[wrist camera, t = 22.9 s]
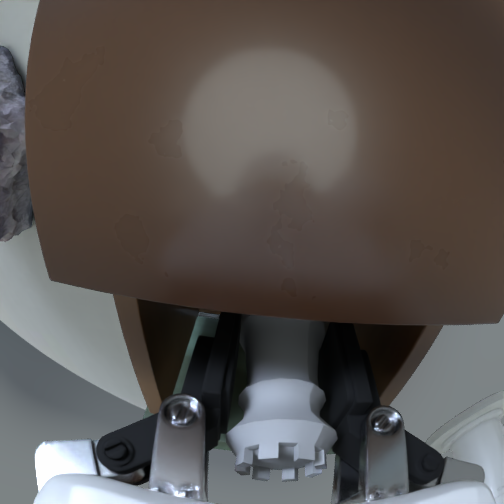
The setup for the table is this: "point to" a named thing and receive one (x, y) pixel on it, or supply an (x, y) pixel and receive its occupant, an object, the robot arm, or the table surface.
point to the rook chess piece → (281, 400)
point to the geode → (13, 153)
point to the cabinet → (273, 155)
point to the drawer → (191, 326)
